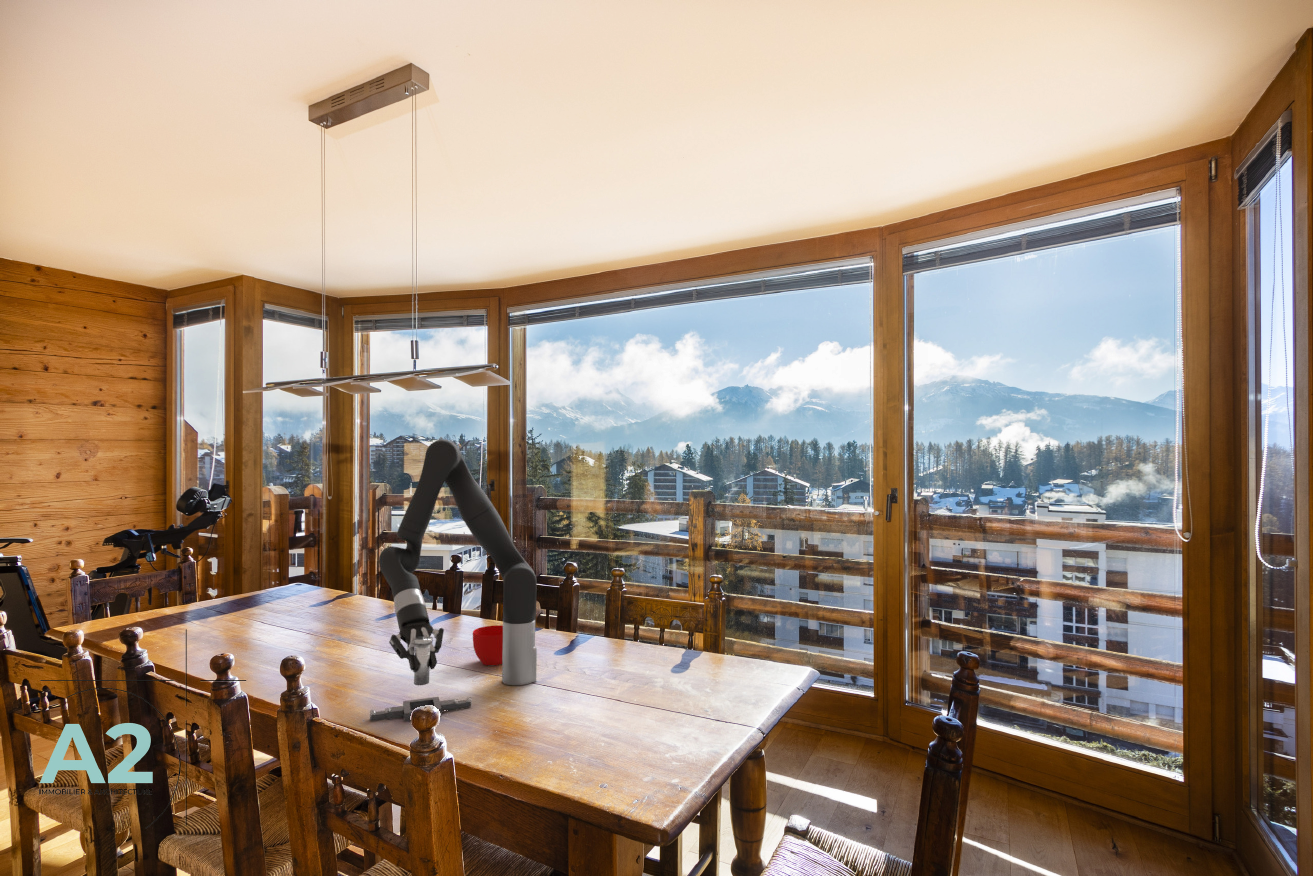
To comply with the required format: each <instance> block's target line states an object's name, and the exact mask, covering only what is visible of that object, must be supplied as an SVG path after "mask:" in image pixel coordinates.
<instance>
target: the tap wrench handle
mask: <svg viewBox="0 0 1313 876" xmlns="http://www.w3.org/2000/svg"><path fill="white" fill-rule="evenodd" d="M425 705H433V706H435V707H436V708H437V709H439V711H440V713H441V714H442V713H443V712H442V711H444V710H446V711H447V710H448V711H447V712H451V711H450V710H455V711H457V710H462V709H461V708H464V709H470V708H471V707H472V697H469V696H468V697H466V699H463V700H459V699H457V698H454V699H447V700H445V699H444V700H440V697H439V696H435V697H434V696H433V697H426V698H417V699H411V700H410V699H409V700H403V701H402V705H401V706H399V705H397V706H393V707H391V706H390V707H386V708H384V710H380V711H376V710H375V709H371V710H369V721H371V722H375V721H383V720H396V719H403V722H404V723H405V722H411V721H410V716H411V713H412V711H413V710H414V709H415V708H417V707H420V706H425ZM469 707H470V708H469ZM456 709H457V710H456ZM403 715H404V716H403Z"/></svg>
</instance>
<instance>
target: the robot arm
mask: <svg viewBox="0 0 1313 876" xmlns="http://www.w3.org/2000/svg"><path fill="white" fill-rule="evenodd" d="M425 450H426V451H425V457H424V461H423V466H422V469H421V473H420V475H419V480H418V482H417V485H416V488H415V491H414V493H413V494H412V498H410V499H411V500H410V501H409V504H408V506H407V509H406V511H405V512H404V514H403V517H402V519H401V522H400V524H399V527H398V529H397V531H396V532H397V534H396V535H397V537H398V538H399V539H401V540H402V541H403V542H406V547H405V548H404V547H403V548H402V547H398V546H387V547H385V548H384V549H383V550H381V552H380V554H379V558H378V566H379V569H380V572H381V573H382V575H383V577H384V579H385V581H386V582H387V584H388V585H389V586H390V588H391V589H390V590H391V594H392V597H393V603H394V604H393V605H394V614H395V616H396V621H397V626H398V630H399V632H398V633H397V634H392V635H391V636H390V639H389V641H388V644H390V646H391V648H392V649H393V651H394V652H395V654H396V655H397V656H398V658H399V659H401V660H404V659H407V661H408V665H409V668H410V671H412V672H413V673H414V672H417V671H418V669H419V667H418V662H417V658H416V655H415V645H414V644H413V639H414V638H416V637H421V636H429V637H432V635H433V638H434V639H435V643H434V644H433V642H432V643H431V644H430V670H434V669H435V667H436V666H437V664H438V660H437V656H436V654H438V653H439V652H440V649H441V648H442V643H443V637H444V631H445V630H444V628H443V627H440V628H438V629H437V628H434V627H433V626H432V625H431V623H430V618H429V614H428V610H427V606H426V603H425V598H424V596H423V594H422V591H421V587H420V583H419V579H418V577H417V575H415V574H413V573H414V572H415V571H416V570H417V569H418V567H419V564H420V561H421V554H422V545H423V538H424V537H425V534H426V531H427V529H428V527H429V524H430V521H431V519H432V516H433V514H434V513H433V512H434V511H435V510H434V509H435V507H436V503H437V500H438V496H439V494H440V492H441V489H442V487H443V486H444V484H446V486H447V487H448V488H449V490H450V493H451V494H452V497H453V499H454V502H455V505H456V507H457V509H458V511H459V514H460V516H461V518H462V521H463V522H464V523H465V525H466V526H467V529H468V530H469V531H470V533H471V535H472V536H473V538H474V539H475V540H476V541H477V543H478V544H479V545H480V547H482V548H483V549H484V550H485V552H486V553H487V554H488V555H489V556H490V558H491V559H492V561H493V562H494V565H495V567H496V568H497V570H498V572H499V574H500V577H501V578H502V581H503V594H502V595H503V597H502V599H503V602H502V603H503V604H502V605H503V606H502V626H503V649H502V664H501V665H502V667H501V671H502V672H501V683H503V684H504V685H508V686H524V685H528V684H531V683H533V682H534V683H535V682H537V664H538V662H537V661H538V659H537V658H538V657H537V654H538V651H537V650H538V648H537V647H536V613H537V589H538V588H537V584H538V583H537V582H538V581H537V577H536V576H537V575H536V574H535V571H534V568H532V566H531V565H529V563H528V562H527V561H526V559H525V558H524V557H523V556H522V554H521V552H519V550H518V549H517V547H516V546H515V544H514V542H513V541H512V538H511V536H510V533H509V532H508V530H507V527H506V525H505V523H504V522H503V519H502V517H501V515H500V514H499V512H498V510H497V509H496V508H495V506H494V504H493V502H492V501H491V500H490V498H489V497H488V495H487V494H486V492H485V491H484V489H482V487H481V486H480V485H479V484H478V482H477V481H476V479H475V478H474V476H473V475H472V473H471V471H470V469H469V467H468V465H467V463H466V461H465V459H464V457H463V454H462V452H461V450H460V448H459V446H458V444H456V443H455V442H453V441H451V440H448V439H439V440H435V441H434V442H432V443H430V444H429V446H428V447H427V448H426V449H425ZM401 641H403V642H404V643H405V644H406V645H407V646H406V647H405V646H404V644H403V643H402V642H401Z"/></svg>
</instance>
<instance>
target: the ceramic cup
mask: <svg viewBox="0 0 1313 876" xmlns="http://www.w3.org/2000/svg"><path fill="white" fill-rule="evenodd" d="M472 645H473V646H472V647H473V650H474V652H475V655H476V657H477V659H478V660H479V661H480V662H481V663H482V664H483V665H484V666H488V665H495V666H499V664H500V665H502V649H503V624H502V625H500V624H499V625H486V626H482V627H478V628H475V629H474V630H473V631H472Z"/></svg>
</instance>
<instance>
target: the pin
mask: <svg viewBox="0 0 1313 876" xmlns="http://www.w3.org/2000/svg"><path fill="white" fill-rule="evenodd" d="M433 638H434V637H432V636H430V637H429V636H421V637H416V638H414V639H413V644H414V645H415V653H414V655H416V658H417V662H418V667H419V669H418V671H417V672H413V673H414V675H413V685H415V686H425V685H428V684H429V683H430V674H431V673H430V671H431V669H430V644H431V643H432V644H433V640H434V639H433Z"/></svg>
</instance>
